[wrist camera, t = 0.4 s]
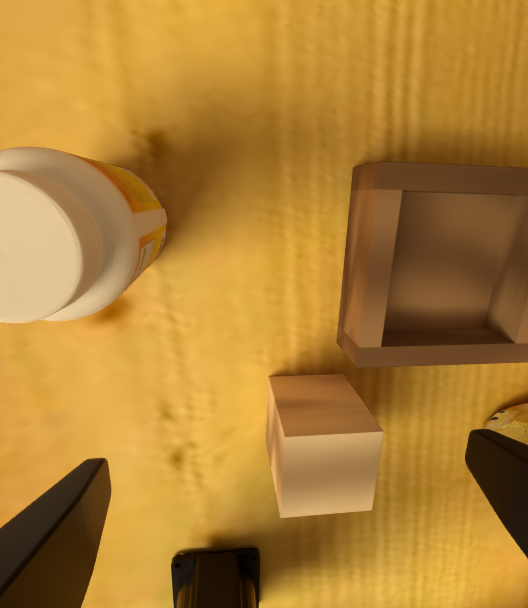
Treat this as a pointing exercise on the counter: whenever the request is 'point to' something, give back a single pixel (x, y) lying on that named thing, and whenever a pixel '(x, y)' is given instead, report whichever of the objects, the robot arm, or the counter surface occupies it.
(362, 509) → the cream cube
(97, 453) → the counter surface
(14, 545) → the robot arm
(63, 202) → the supplement bottle
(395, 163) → the bin
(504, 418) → the chocolate bunny
